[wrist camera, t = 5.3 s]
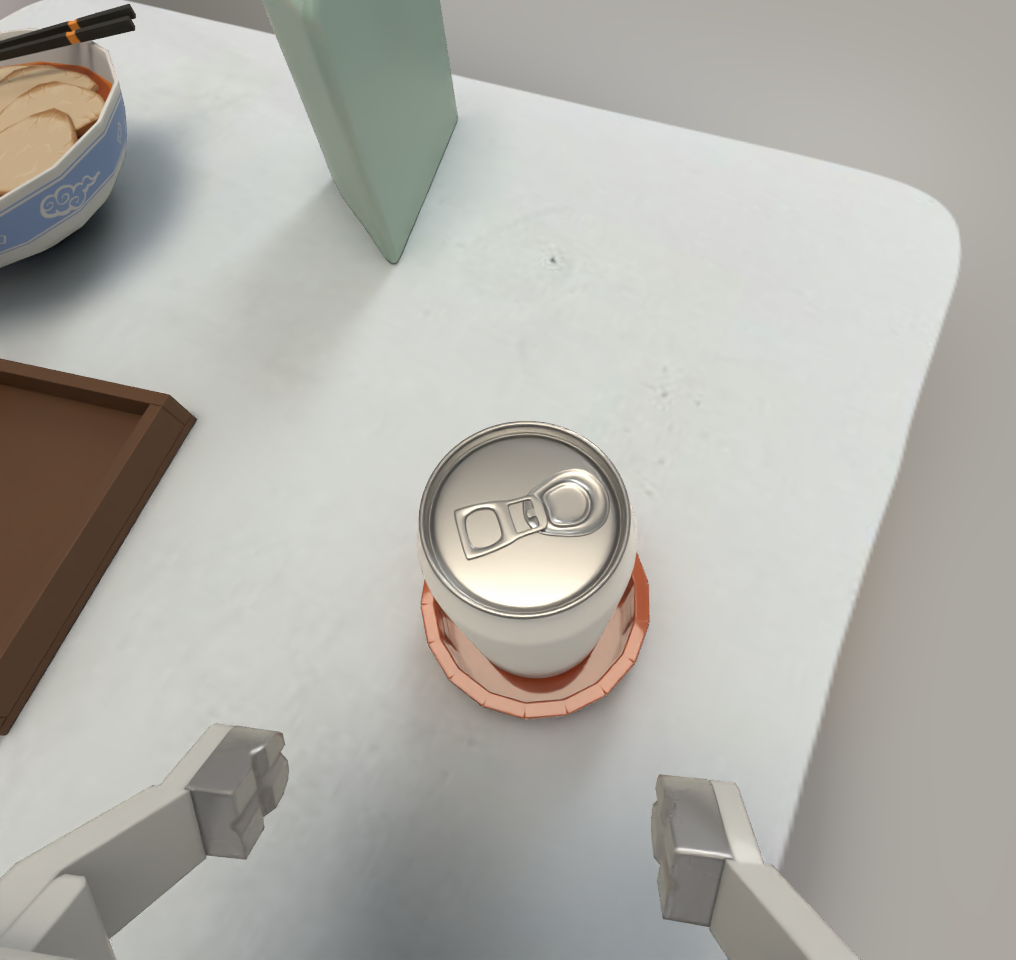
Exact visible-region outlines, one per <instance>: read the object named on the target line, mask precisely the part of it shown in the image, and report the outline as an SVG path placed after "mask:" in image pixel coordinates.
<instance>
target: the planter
mask: <svg viewBox="0 0 1016 960" xmlns="http://www.w3.org/2000/svg"><path fill="white" fill-rule="evenodd" d="M261 1H262V3H263V6H264V8H265V11H266V13H267V15H268V18H269V21H270V23H271V25H272V28H273V30H274V33H275V35H276V38H277V40H278V43H279V45H280V47H281V50H282V52H283V55H284V57H285V60H286V62H287V65H288V67H289V70H290V72H291V74H292V77H293V79H294V82H295V84H296V87H297V89H298V92H299V94H300V97H301V99H302V102H303V104H304V107H305V109H306V112H307V114H308V117H309V119H310V122H311V124H312V127H313V129H314V132H315V135H316V137H317V140H318V142H319V145H320V147H321V150H322V152H323V155H324V157H325V160H326V163H327V165H328V168H329V171H330V173H331V176H332V178H333V180H334V182H335V184H336V186H337V188H338V190H339V191H340V193H341V195H342V197H343V198H344V200H345V201H346V203H347V204H348V205H349V207H350V208H351V210H352V211H353V212H354V214H355V215H356V216H357V218H358V219H359V220H360V222H361V223H362V224H363V226H364V227H365V228H366V230H367V231H368V232H369V234H370V235H371V237H372V238H373V240H374V241H375V243H376V244H377V246H378V247H379V249H380V251H381V252H382V254H383V255H384V256H385V258H386V259H387V260H388V261H389V262H391V263H396V262H397V261H398V260H399V258H400V256H401V253H402V251H403V249H404V246H405V244H406V242H407V239H408V237H409V234H410V232H411V230H412V227H413V225H414V223H415V220H416V218H417V215H418V213H419V211H420V208H421V206H422V204H423V201H424V199H425V197H426V194H427V192H428V189H429V187H430V185H431V182H432V180H433V177H434V175H435V173H436V170H437V168H438V165H439V163H440V161H441V158H442V156H443V153H444V151H445V148H446V146H447V144H448V141H449V139H450V136H451V134H452V132H453V129H454V127H455V124H456V122H457V119H458V115H457V108H456V102H455V95H454V89H453V82H452V76H451V69H450V64H449V57H448V50H447V44H446V37H445V30H444V24H443V17H442V11H441V4H440V0H261Z"/></svg>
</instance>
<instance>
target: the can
mask: <svg viewBox="0 0 1016 960" xmlns="http://www.w3.org/2000/svg"><path fill="white" fill-rule="evenodd" d="M636 551H637V527H636V521H635V516H634V512H633V509H632V506H631V503H630V501H629V498H628V494H627V491H626V488H625V485H624V483H623V480H622V478H621V476H620V474H619V472H618V471H617V469H616V468H615V466H614V465H613V463H612V462H611V461H610V459H609V458H608V457H607V456H606V455H605V454H604V453H603V452H602V451H601V450H600V449H599V448H598V447H597V446H596V445H594V444H593V443H592V442H591V441H589V440H588V439H586V438H585V437H583V436H581V435H579V434H578V433H576V432H574V431H571V430H569V429H567V428H564V427H561V426H558V425H554V424H550V423H544V422H536V421H517V422H509V423H503V424H499V425H495V426H492V427H489V428H486V429H484V430H481V431H479V432H477V433H475V434H473V435H471V436H469V437H468V438H466V439H465V440H463V441H462V442H460V443H459V444H458V445H456V446H455V447H454V448H453V449H452V450H451V451H450V452H449V453H448V454H447V455H446V456H445V457H444V458H443V459H442V460H441V461H440V463H439V464H438V465H437V467H436V468H435V470H434V471H433V473H432V474H431V476H430V478H429V480H428V482H427V484H426V487H425V489H424V492H423V496H422V499H421V504H420V510H419V528H418V555H419V561H420V565H421V569H422V572H423V575H424V578H425V580H426V583H427V585H428V587H429V589H430V591H431V593H432V595H433V596H434V598H435V599H436V601H437V602H438V604H439V605H440V607H441V608H442V609H443V610H444V612H445V613H446V614H447V615H448V617H449V618H450V619H451V620H452V621H453V622H454V623H455V625H456V626H457V627H458V628H459V629H460V630H461V631H462V632H463V634H464V635H465V636H466V637H467V638H468V639H469V640H470V641H471V642H472V643H473V645H474V646H475V647H476V648H477V649H478V650H479V651H480V652H481V653H482V654H483V655H484V656H485V657H486V658H487V659H488V660H489V661H490V662H492V663H493V664H494V665H496V666H497V667H499V668H500V669H502V670H504V671H506V672H508V673H510V674H513V675H516V676H520V677H525V678H548V677H553V676H556V675H559V674H562V673H564V672H567V671H569V670H570V669H572V668H574V667H575V666H577V665H578V664H579V663H580V662H582V661H583V660H584V659H585V658H586V657H587V656H588V655H589V654H590V652H591V651H592V650H593V648H594V647H595V645H596V644H597V642H598V641H599V639H600V637H601V635H602V633H603V632H604V630H605V628H606V626H607V624H608V622H609V621H610V619H611V617H612V615H613V613H614V611H615V609H616V607H617V605H618V604H619V602H620V600H621V598H622V595H623V593H624V591H625V589H626V587H627V585H628V582H629V580H630V577H631V574H632V571H633V568H634V564H635V558H636Z"/></svg>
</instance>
